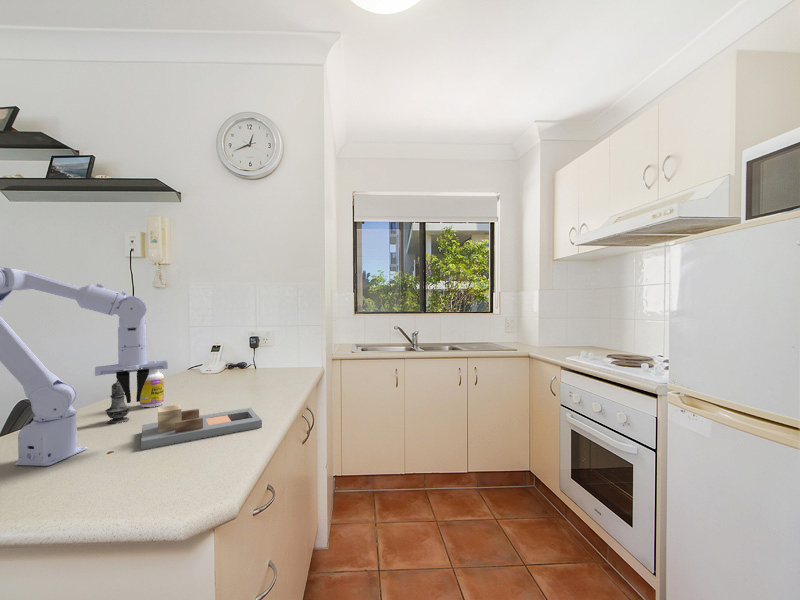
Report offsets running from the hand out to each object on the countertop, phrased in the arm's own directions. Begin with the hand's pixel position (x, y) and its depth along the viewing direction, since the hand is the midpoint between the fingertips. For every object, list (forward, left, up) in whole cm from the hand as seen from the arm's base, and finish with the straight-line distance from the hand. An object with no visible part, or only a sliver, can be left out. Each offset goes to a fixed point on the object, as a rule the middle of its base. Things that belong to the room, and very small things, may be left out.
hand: (133, 401), depth 95 cm
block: (+5, -6, -8) cm, 11 cm away
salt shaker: (+15, +17, -10) cm, 25 cm away
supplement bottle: (+31, +19, -10) cm, 38 cm away
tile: (+12, -15, -10) cm, 21 cm away
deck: (+9, -12, -10) cm, 18 cm away
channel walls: (+7, -9, -8) cm, 14 cm away
